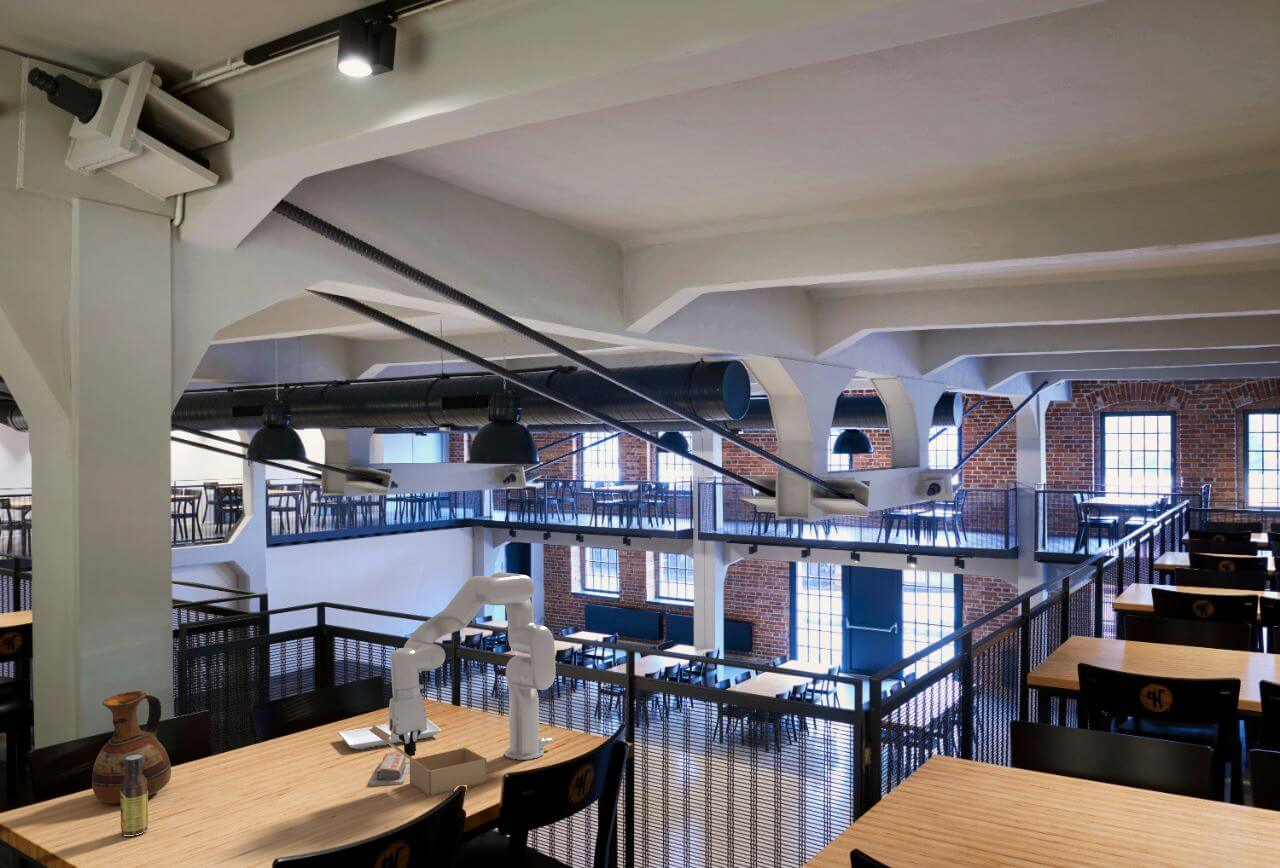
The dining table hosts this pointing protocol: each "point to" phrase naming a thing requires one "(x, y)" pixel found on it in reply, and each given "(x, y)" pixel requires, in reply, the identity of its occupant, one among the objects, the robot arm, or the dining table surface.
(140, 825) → the sauce bottle
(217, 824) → the dining table surface
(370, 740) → the tray
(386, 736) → the lid
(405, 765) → the packaged product
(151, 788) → the ceramic pitcher
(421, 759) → the mailer box
